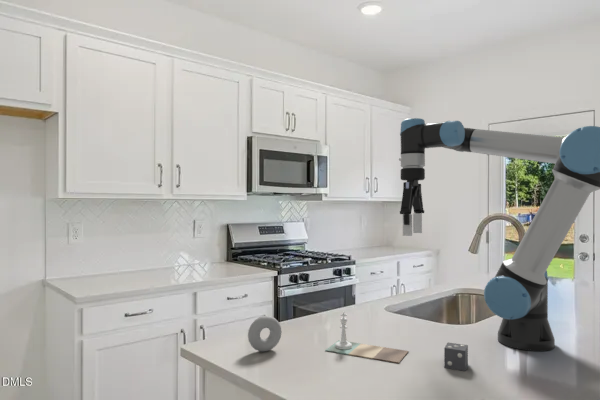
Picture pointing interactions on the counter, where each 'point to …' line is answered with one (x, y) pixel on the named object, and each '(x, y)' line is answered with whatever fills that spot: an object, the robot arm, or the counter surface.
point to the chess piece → (343, 335)
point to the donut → (257, 327)
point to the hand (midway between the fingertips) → (412, 234)
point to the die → (456, 356)
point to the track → (371, 352)
